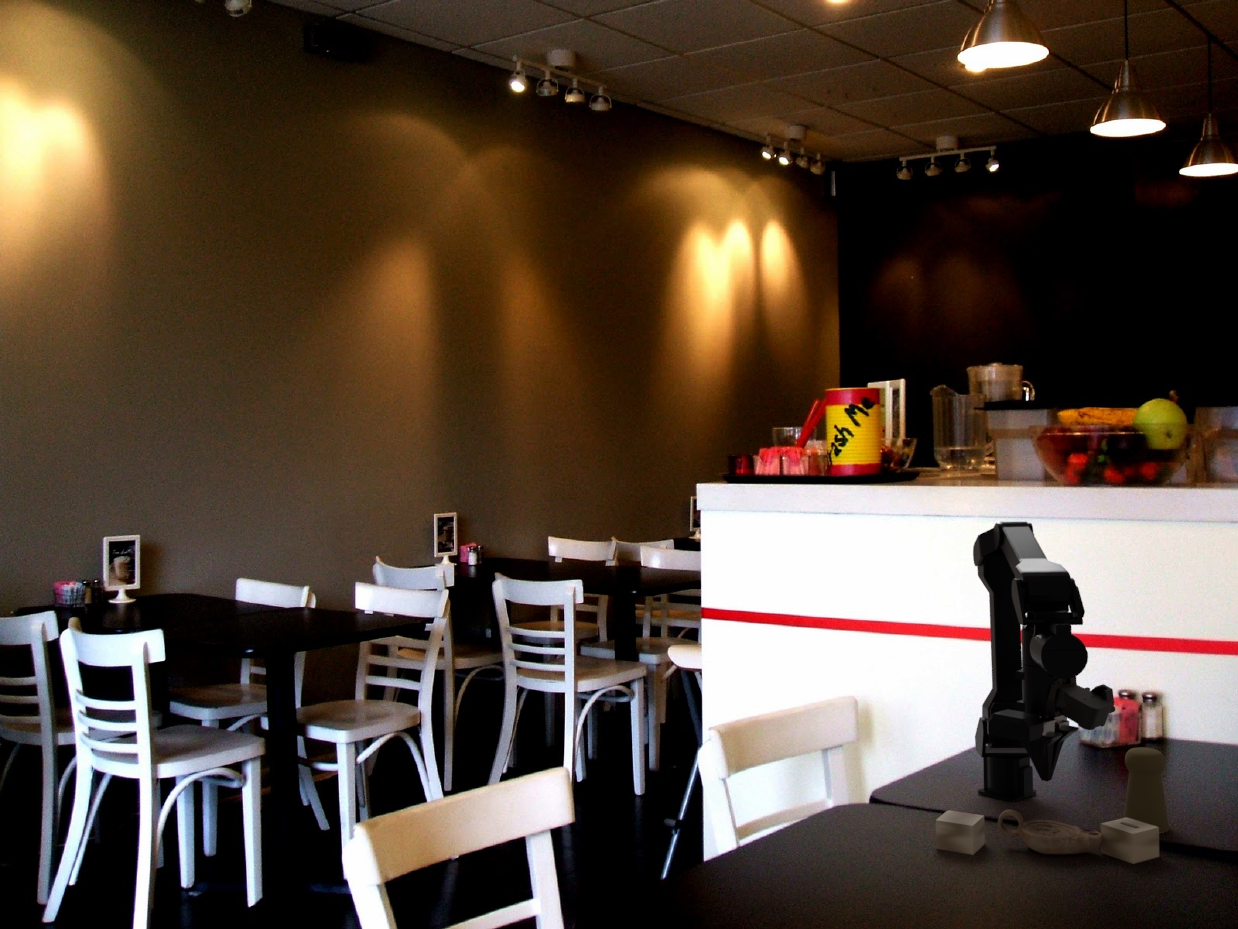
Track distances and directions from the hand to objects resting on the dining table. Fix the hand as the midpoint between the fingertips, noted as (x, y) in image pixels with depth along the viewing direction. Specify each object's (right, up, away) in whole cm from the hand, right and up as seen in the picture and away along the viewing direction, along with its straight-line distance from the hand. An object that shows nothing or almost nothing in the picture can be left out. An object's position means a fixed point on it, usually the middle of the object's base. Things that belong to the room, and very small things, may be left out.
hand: (1046, 780), depth 165 cm
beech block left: (-11, -10, +2) cm, 15 cm away
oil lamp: (0, -10, -1) cm, 9 cm away
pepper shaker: (+17, -9, +8) cm, 20 cm away
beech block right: (+10, -9, -3) cm, 14 cm away
